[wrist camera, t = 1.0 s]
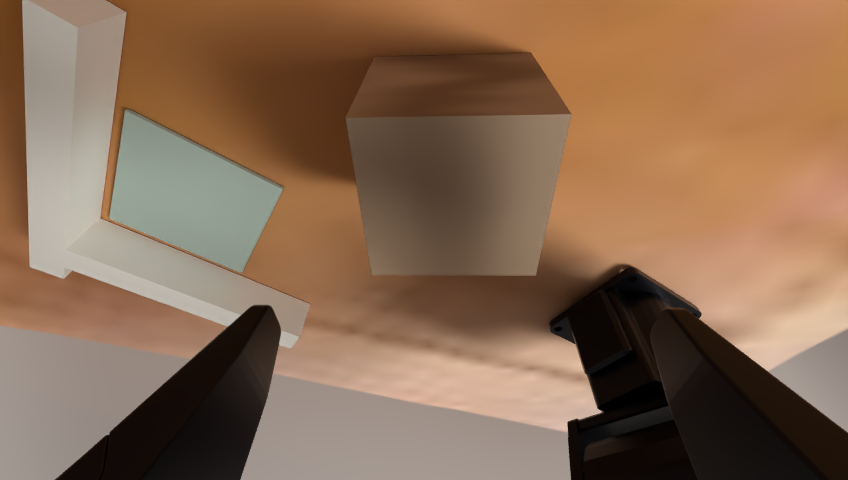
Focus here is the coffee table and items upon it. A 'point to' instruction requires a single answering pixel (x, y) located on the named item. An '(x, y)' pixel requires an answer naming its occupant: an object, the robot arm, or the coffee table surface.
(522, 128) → the walnut cube
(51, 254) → the white angled bracket
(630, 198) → the coffee table surface
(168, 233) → the pad
